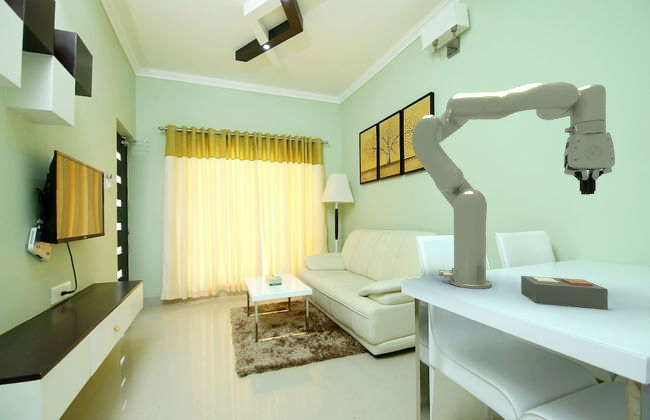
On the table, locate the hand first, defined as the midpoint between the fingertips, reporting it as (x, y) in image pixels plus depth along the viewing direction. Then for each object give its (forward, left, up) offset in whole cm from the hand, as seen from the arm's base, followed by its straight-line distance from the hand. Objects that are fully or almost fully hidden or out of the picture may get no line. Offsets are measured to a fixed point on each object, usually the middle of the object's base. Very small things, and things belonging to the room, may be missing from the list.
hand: (587, 194), depth 80 cm
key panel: (-10, -8, -29) cm, 32 cm away
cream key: (-13, -8, -27) cm, 31 cm away
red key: (-6, -8, -27) cm, 29 cm away
